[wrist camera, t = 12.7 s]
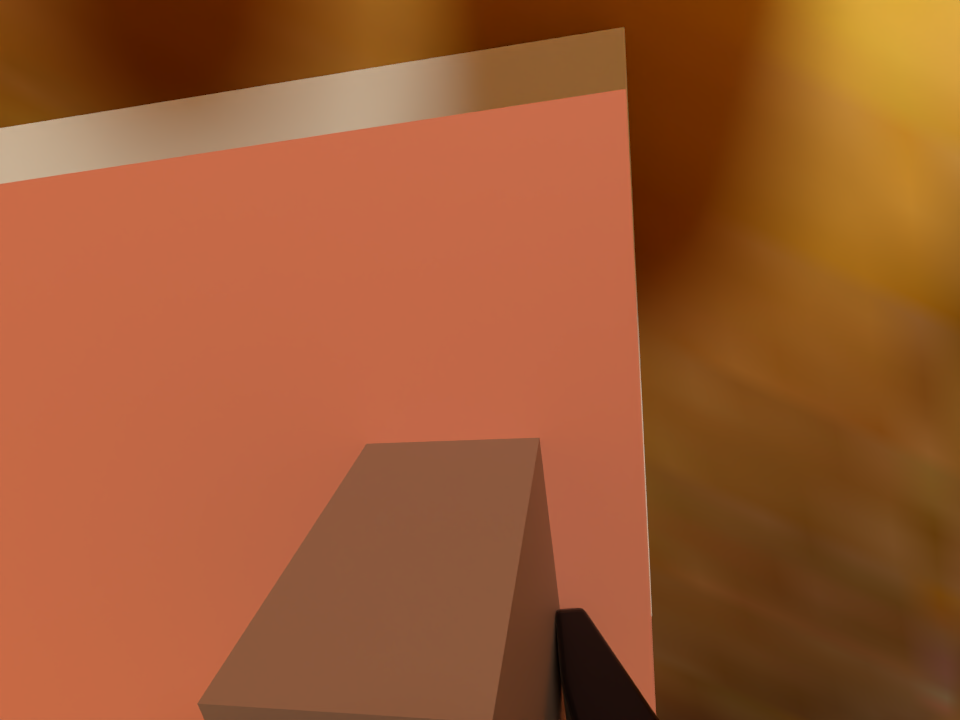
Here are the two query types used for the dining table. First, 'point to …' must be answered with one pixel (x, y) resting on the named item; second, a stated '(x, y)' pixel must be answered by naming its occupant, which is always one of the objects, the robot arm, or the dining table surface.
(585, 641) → the robot arm
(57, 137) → the mat
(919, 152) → the dining table surface
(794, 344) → the dining table surface
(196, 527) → the lid
